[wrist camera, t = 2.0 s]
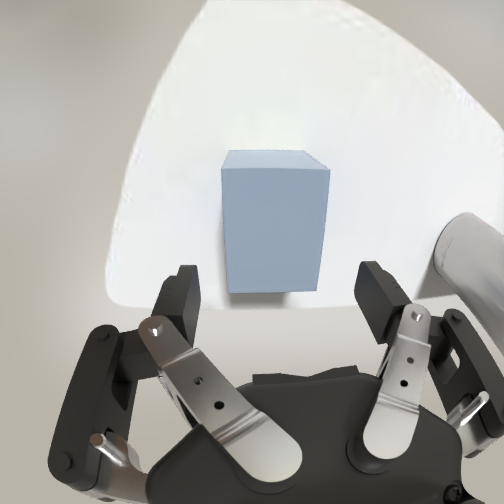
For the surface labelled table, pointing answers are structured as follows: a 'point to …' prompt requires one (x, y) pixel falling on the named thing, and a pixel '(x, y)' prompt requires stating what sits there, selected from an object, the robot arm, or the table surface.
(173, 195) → the table surface
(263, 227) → the blue-grey block
